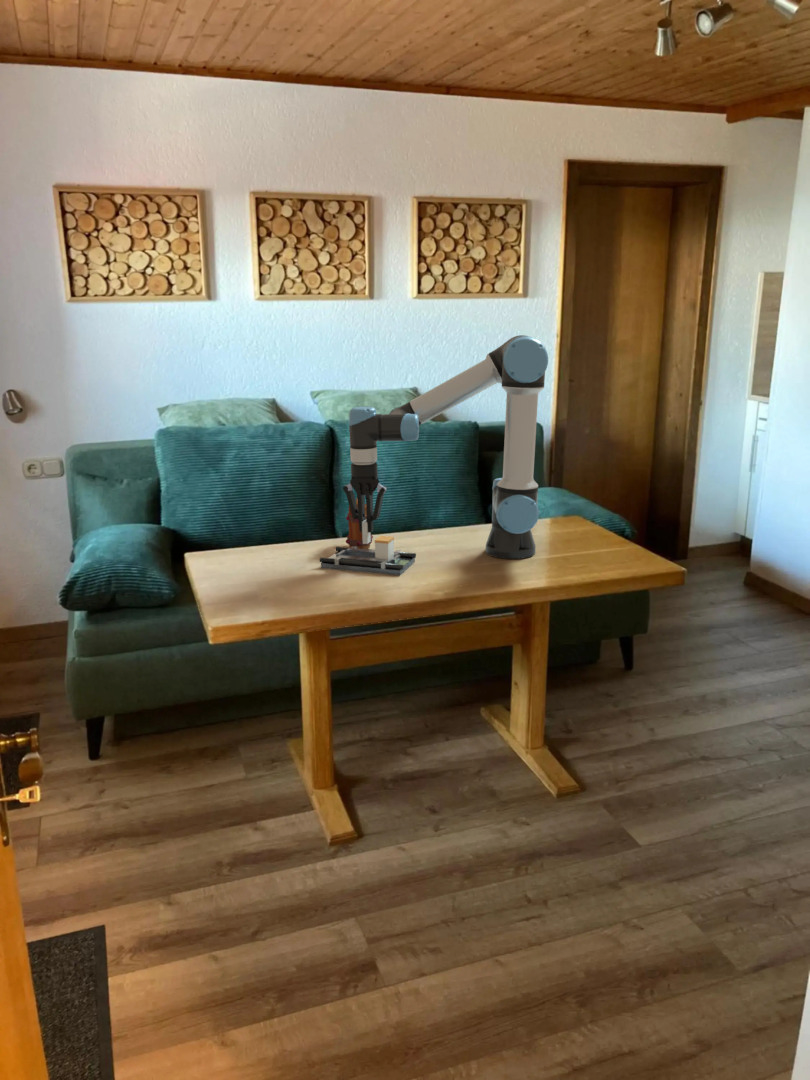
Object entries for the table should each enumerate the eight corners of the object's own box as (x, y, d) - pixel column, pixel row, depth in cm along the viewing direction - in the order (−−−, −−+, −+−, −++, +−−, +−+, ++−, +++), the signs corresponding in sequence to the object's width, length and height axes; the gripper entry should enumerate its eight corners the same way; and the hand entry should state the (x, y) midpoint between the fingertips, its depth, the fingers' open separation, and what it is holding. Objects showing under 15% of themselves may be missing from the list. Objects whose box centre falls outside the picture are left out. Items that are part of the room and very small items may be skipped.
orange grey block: (394, 558, 249) (394, 536, 248) (388, 563, 245) (388, 541, 243) (380, 557, 251) (380, 535, 249) (375, 562, 246) (374, 540, 244)
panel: (416, 561, 252) (416, 551, 252) (401, 575, 239) (401, 565, 239) (337, 554, 260) (337, 545, 259) (319, 568, 247) (318, 557, 246)
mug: (371, 553, 261) (371, 505, 257) (345, 553, 261) (344, 505, 257) (374, 541, 275) (373, 495, 271) (349, 540, 275) (348, 495, 271)
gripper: (390, 460, 244) (392, 540, 250) (347, 459, 247) (350, 537, 254) (381, 465, 237) (383, 547, 243) (337, 463, 241) (341, 544, 247)
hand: (366, 542), depth 248 cm, fingers closed
